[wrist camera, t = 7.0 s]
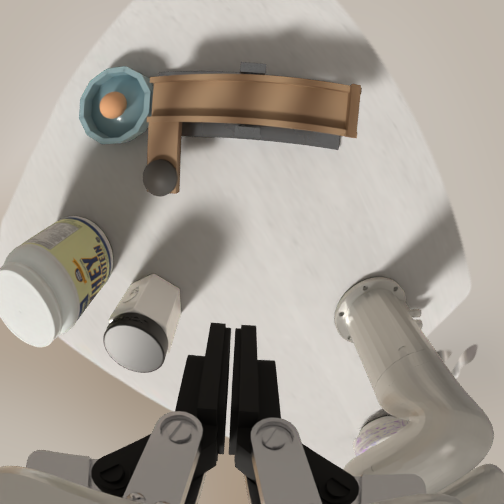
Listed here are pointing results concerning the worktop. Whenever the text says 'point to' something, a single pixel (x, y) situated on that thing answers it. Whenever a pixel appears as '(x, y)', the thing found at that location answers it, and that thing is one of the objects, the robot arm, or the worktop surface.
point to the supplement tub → (53, 279)
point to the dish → (133, 117)
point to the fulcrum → (254, 130)
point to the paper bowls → (377, 432)
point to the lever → (239, 112)
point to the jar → (144, 324)
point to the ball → (113, 105)
